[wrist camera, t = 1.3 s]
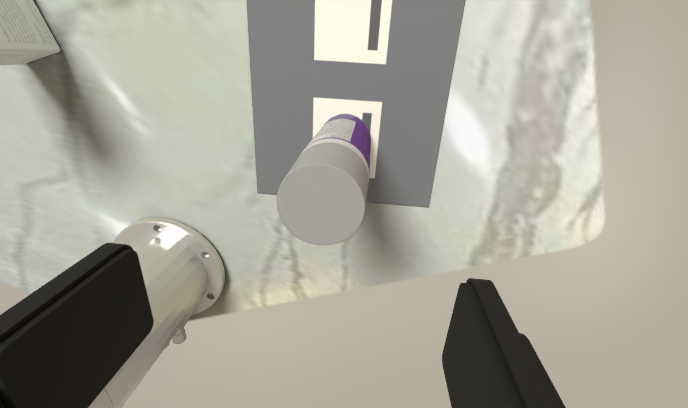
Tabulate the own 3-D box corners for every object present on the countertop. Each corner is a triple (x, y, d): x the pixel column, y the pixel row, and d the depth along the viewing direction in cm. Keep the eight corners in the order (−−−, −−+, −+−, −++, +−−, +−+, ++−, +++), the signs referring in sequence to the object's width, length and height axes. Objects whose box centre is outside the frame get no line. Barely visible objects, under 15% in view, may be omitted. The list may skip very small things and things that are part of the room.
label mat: (428, 206, 32) (428, 207, 32) (257, 192, 33) (257, 193, 33) (478, -78, 23) (479, -79, 23) (241, -87, 24) (241, -88, 24)
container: (373, 161, 30) (372, 244, 17) (324, 166, 31) (284, 250, 17) (368, 110, 29) (362, 155, 15) (316, 116, 29) (264, 166, 15)
